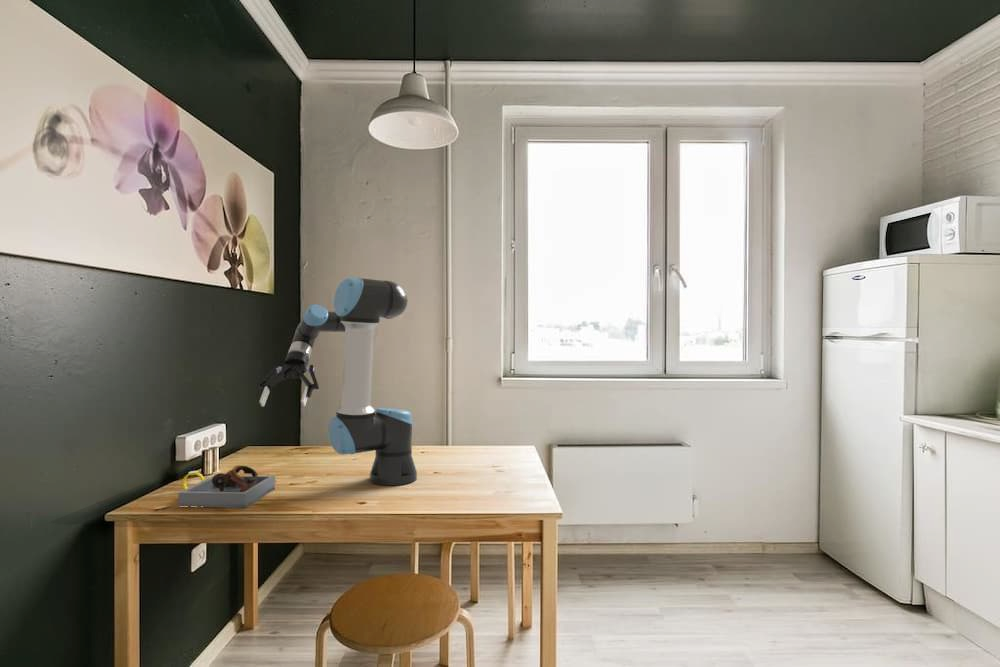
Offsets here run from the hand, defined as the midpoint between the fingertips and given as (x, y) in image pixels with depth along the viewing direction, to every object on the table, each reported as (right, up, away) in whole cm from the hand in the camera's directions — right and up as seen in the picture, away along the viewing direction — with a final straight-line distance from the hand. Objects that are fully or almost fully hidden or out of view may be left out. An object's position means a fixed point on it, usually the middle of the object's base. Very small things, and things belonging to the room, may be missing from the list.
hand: (282, 404), depth 179 cm
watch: (-20, -24, -17) cm, 36 cm away
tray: (-6, -24, -23) cm, 34 cm away
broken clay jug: (-6, -23, -21) cm, 32 cm away
